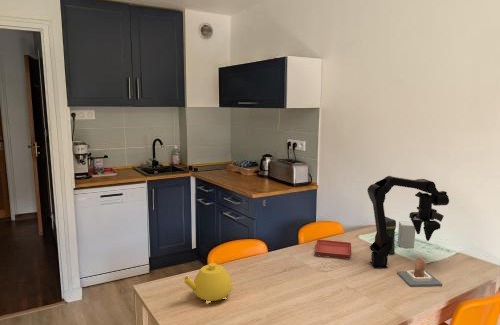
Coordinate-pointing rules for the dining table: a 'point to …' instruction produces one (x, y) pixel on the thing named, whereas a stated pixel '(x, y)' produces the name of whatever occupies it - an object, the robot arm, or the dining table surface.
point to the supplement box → (406, 234)
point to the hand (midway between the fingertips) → (422, 237)
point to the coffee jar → (391, 231)
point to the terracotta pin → (419, 267)
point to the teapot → (211, 283)
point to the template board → (418, 279)
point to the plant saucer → (333, 248)
